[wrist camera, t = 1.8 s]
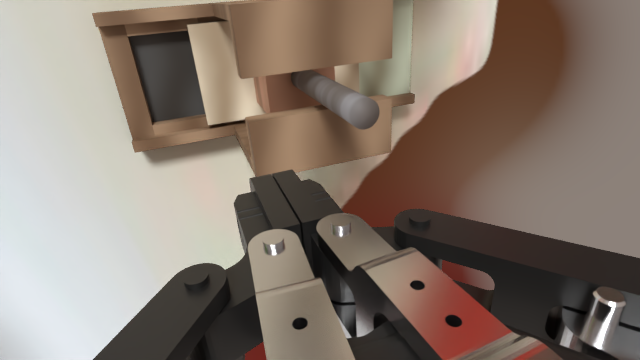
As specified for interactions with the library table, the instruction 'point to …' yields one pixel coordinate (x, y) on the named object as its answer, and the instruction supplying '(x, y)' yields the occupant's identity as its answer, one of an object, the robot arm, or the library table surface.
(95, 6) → the library table surface
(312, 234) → the robot arm
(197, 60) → the cube with grey rod
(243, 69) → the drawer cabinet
